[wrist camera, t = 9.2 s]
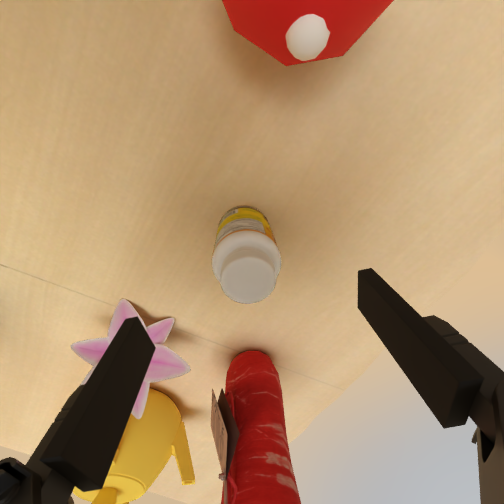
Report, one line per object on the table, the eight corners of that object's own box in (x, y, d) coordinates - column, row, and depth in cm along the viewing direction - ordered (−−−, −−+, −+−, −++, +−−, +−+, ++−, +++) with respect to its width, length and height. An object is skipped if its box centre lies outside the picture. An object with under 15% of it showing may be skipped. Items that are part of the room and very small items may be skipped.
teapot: (134, 362, 34) (86, 468, 23) (209, 410, 40) (199, 509, 30) (63, 407, 37) (-6, 515, 27) (142, 444, 44) (112, 542, 33)
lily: (204, 341, 34) (201, 372, 24) (140, 401, 32) (110, 460, 23) (149, 281, 33) (123, 289, 23) (79, 339, 31) (20, 374, 22)
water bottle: (197, 348, 33) (117, 786, 11) (240, 321, 31) (251, 783, 9) (247, 386, 38) (264, 744, 16) (288, 365, 36) (371, 737, 14)
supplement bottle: (263, 254, 27) (277, 316, 18) (215, 247, 26) (204, 309, 17) (274, 208, 24) (297, 253, 15) (222, 199, 23) (213, 240, 14)
